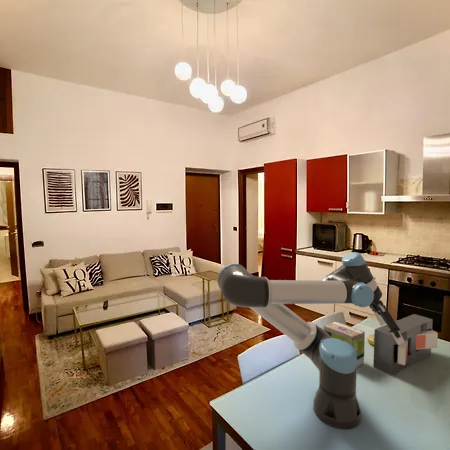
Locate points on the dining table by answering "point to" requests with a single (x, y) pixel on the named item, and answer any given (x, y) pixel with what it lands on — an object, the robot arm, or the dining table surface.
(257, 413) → the dining table surface
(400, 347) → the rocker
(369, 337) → the decorated donut
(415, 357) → the grey panel with openings
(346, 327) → the tea box
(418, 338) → the rocker
